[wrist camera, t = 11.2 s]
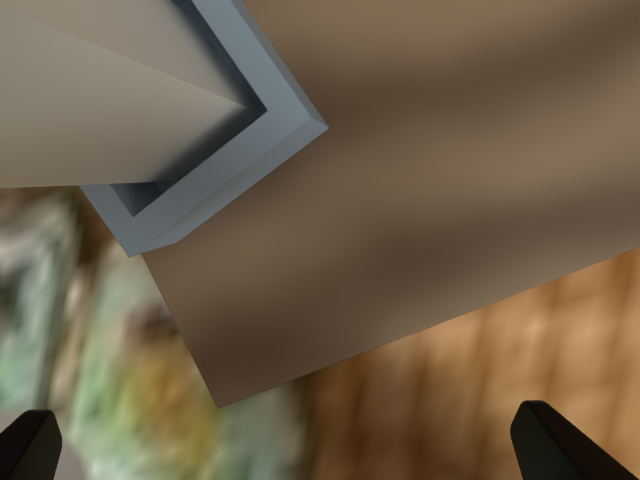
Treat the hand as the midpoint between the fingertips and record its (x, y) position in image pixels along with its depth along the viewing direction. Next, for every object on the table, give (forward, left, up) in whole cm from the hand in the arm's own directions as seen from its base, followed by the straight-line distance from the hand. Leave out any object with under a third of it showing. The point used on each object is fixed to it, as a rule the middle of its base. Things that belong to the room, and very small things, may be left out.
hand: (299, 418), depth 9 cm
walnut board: (+6, -3, -11) cm, 13 cm away
